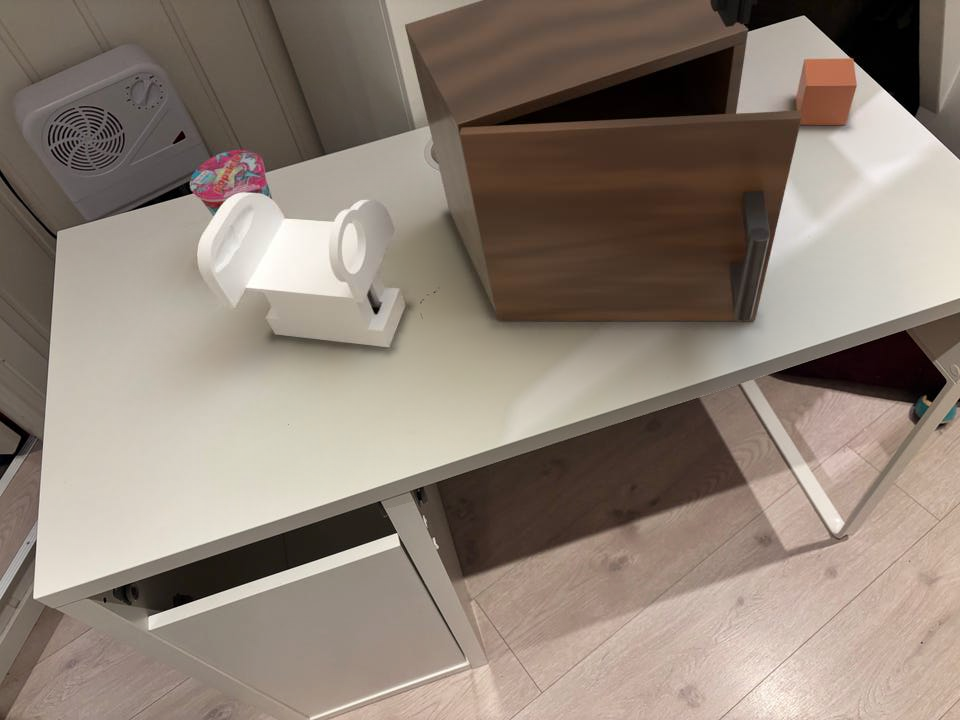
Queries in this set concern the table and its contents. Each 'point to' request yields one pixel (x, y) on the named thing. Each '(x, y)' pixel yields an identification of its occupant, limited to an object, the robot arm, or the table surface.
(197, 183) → the cup
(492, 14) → the cupboard
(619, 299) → the cupboard door
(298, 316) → the tape dispenser
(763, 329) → the table surface
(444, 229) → the table surface
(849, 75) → the block
